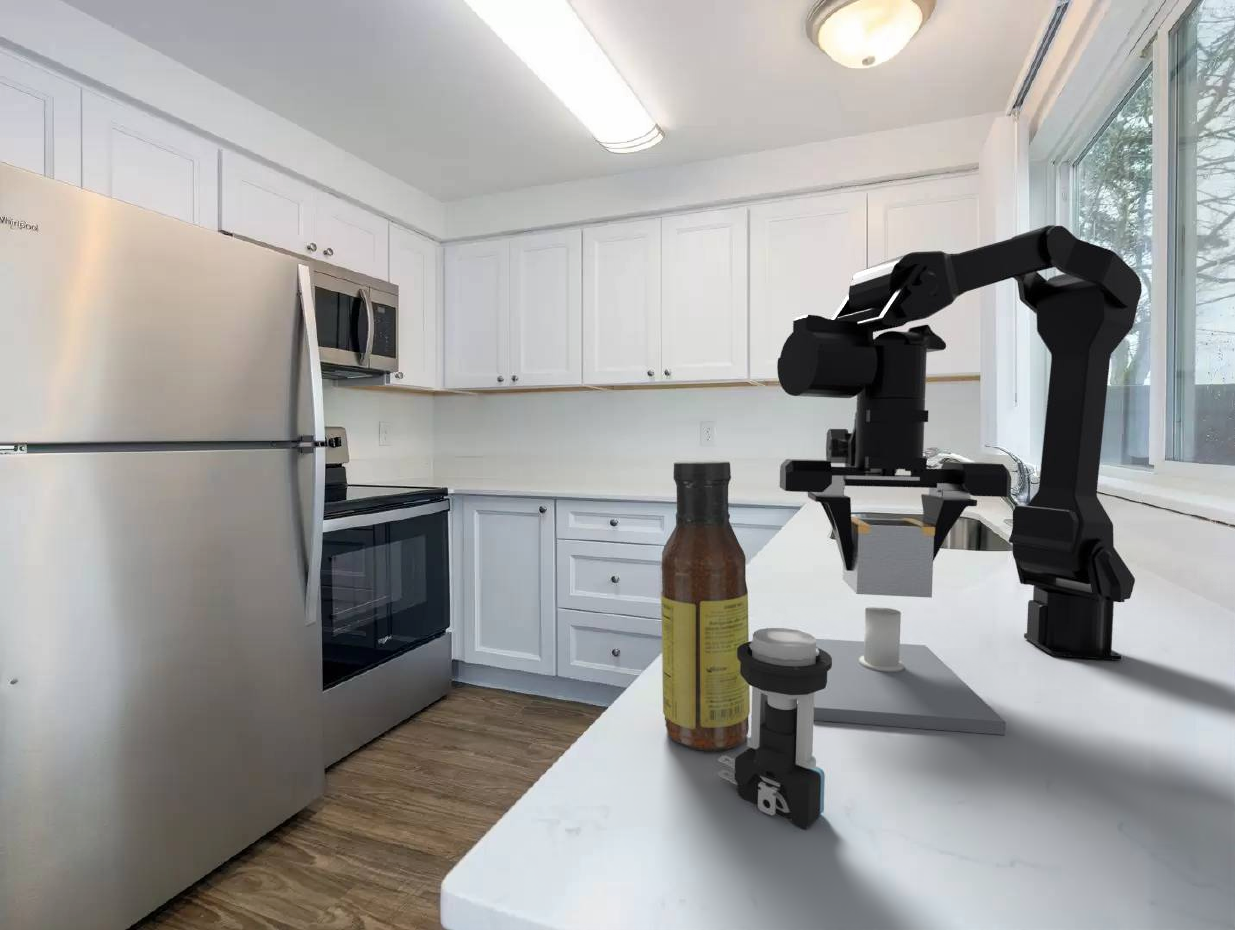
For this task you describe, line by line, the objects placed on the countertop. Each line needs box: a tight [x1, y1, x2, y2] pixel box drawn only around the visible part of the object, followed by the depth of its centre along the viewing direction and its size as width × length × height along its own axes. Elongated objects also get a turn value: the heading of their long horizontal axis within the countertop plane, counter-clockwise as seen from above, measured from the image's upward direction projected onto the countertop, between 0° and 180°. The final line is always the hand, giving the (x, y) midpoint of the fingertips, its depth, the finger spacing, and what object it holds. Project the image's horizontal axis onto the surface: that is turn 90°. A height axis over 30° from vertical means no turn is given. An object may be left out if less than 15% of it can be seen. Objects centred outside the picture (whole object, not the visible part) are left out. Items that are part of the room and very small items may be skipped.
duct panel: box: [813, 606, 1006, 736], centre depth 57 cm, size 14×18×6 cm
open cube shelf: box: [842, 516, 935, 598], centre depth 59 cm, size 6×6×6 cm
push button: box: [717, 627, 832, 830], centre depth 38 cm, size 7×5×10 cm
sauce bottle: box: [660, 460, 751, 751], centre depth 46 cm, size 7×6×20 cm
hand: (885, 571), depth 59 cm, fingers closed on open cube shelf, 6 cm apart
